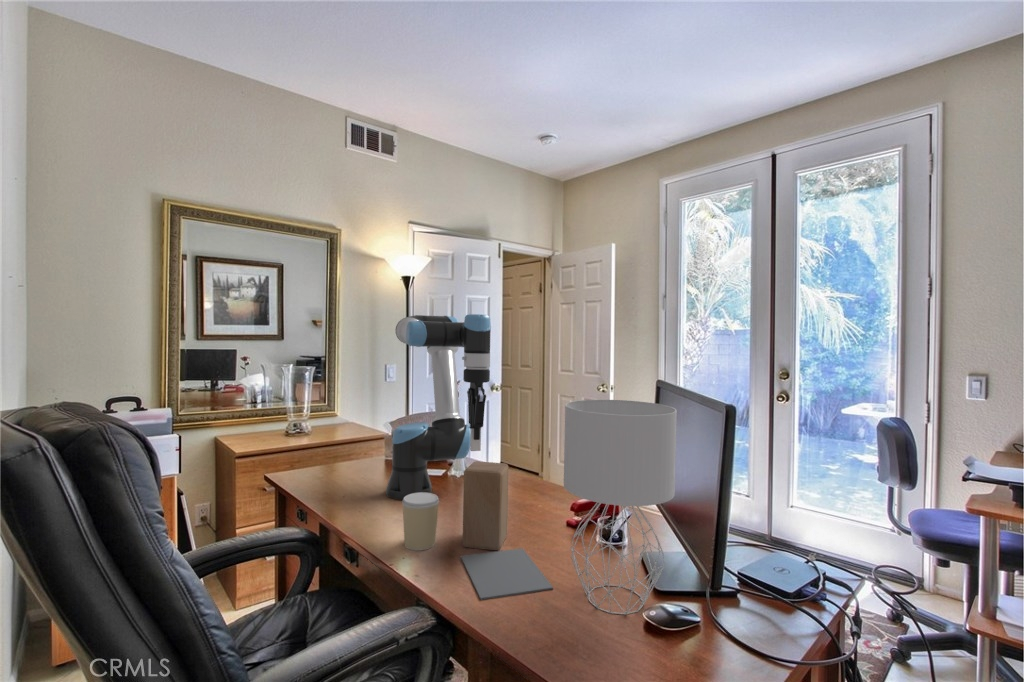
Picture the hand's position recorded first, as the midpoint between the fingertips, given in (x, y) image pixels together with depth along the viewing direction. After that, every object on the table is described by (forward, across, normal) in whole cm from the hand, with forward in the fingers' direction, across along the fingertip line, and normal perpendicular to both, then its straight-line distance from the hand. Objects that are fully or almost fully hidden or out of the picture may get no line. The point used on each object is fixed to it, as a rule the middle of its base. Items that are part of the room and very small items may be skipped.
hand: (475, 450), depth 141 cm
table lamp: (+22, +47, +19) cm, 55 cm away
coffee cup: (+21, +10, -17) cm, 29 cm away
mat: (+22, +30, 0) cm, 37 cm away
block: (+22, +13, 0) cm, 25 cm away
